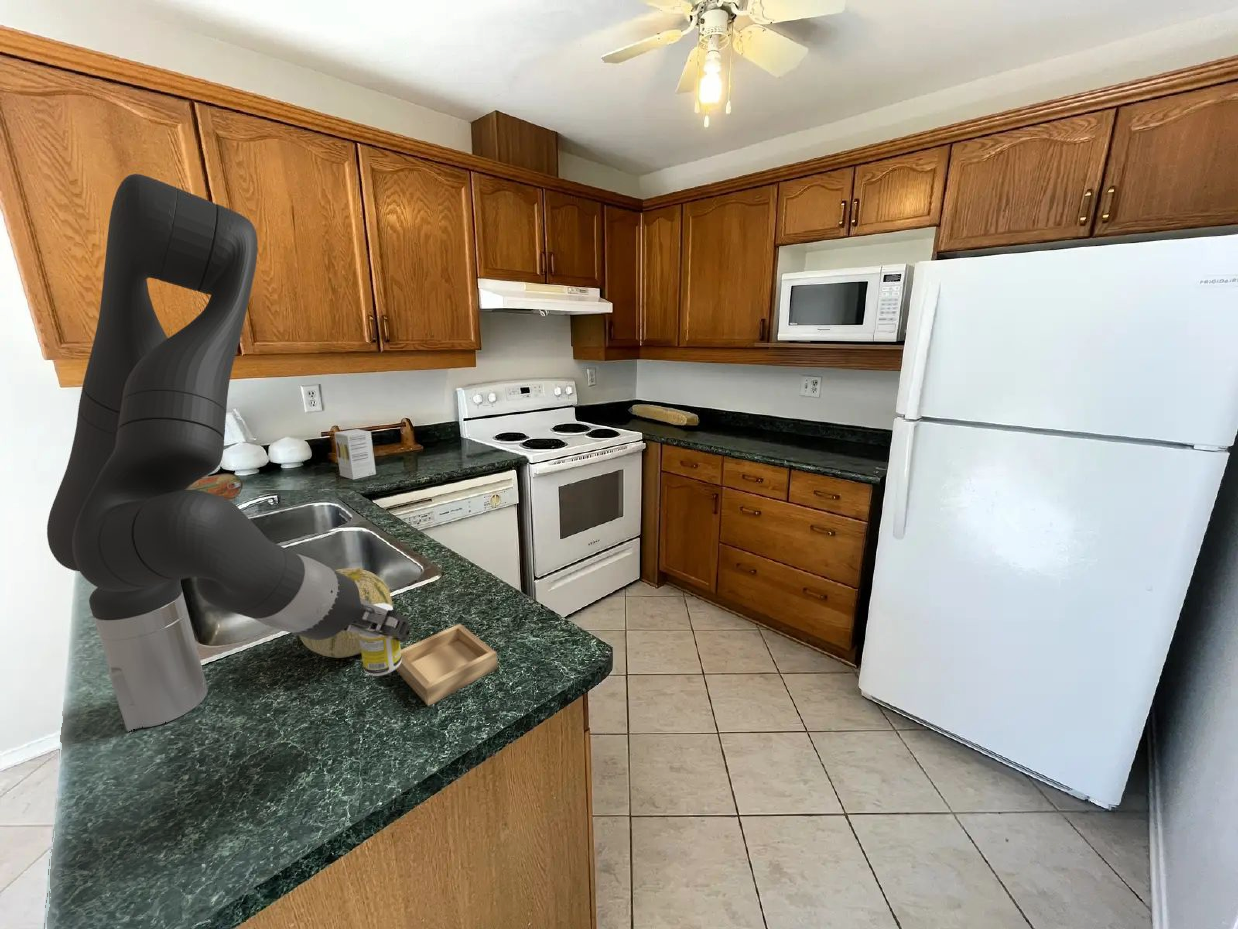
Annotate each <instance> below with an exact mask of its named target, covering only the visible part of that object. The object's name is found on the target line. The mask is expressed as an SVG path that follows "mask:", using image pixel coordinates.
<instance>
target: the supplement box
mask: <svg viewBox="0 0 1238 929" xmlns="http://www.w3.org/2000/svg"><path fill="white" fill-rule="evenodd" d="M334 442H335V445H336V446H335V448H336V456H337V461H338V462H337V463H338V467H339V468H338V469H339V475H340V476H341V477H343V478H344V477H345V478H348V479H350V480H358V479H362V478H365V477H370V476H374V475H377V472H376V462H375V455H374V448H373V439H372V431H368V430H362V429H359V428H356V429H347V430H342V431H336V432H334Z"/></svg>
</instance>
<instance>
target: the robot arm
mask: <svg viewBox="0 0 1238 929" xmlns="http://www.w3.org/2000/svg"><path fill="white" fill-rule="evenodd" d="M108 222H109V223H108V230H107V239H106V248H105V249H106V250H105V258H104V261H105V262H104V269H103V270H104V271H103V279H102V287H101V289H102V290H101V297H100V308H99V313H98V320H97V324H96V329H95V330H96V331H95V334H94V338H93V343H92V347H91V350H90V355H89V359H88V362H87V365H86V366H87V367H86V370H85V374H84V379H83V382H82V387H81V392H80V396H79V397H80V398H79V403H78V409H77V410H78V411H77V419H76V426H75V427H76V428H75V432H74V437H73V441H72V446H71V450H70V455H69V459H68V463H67V466H66V469H65V472H64V475H63V477H62V479H61V482H60V485H59V488H58V489H57V493H56V494H55V498H54V501H53V502H52V505H51V509H50V512H49V515H48V518H47V519H48V520H47V525H46V535H47V536H46V537H47V543H48V546H49V550H50V551H51V554H52V555H53V557H54V558H55V560H56V561H57V562H58V563H59V564H60V565H61V566H62V567H64V568H66V569H68V570H71V571H74V572H79V573H80V574H81V576H83V578H84V579H86V581H88V583H90V584H91V585H93V586H94V587H96V588H95V589H94V590H93V591H92V593H91V594H90V595H89V599H88V600H89V601H88V602H89V608H90V611H91V613H92V616H93V619H94V623H95V624H94V625H95V626H96V629H97V632H98V636H99V639H100V642H101V646H102V650H103V652H104V655H105V660H106V662H107V664H108V674H109V679H110V682H111V685H112V689H113V692H114V695H115V697H116V701H117V704H118V707H119V711H120V713H121V717H122V719H123V723H124V726H125V729H126V732H127V731H128V732H127V733H129V731H130V732H132V731H134V730H133V729H135V730H136V729H141V728H142V727H143V728H150V727H155V726H160V725H163V724H166V723H168V722H171V721H173V720H177V719H178V718H180V717H182V716H184V715H185V714H187V713H189V712H191V711H192V710H193V709H194V708H196V707H198V706H199V705H200V704H201V703H202V702H203V701H204V700H205V698H206V697H207V695H208V692H209V691H208V686H207V682H206V677H205V675H204V670H203V665H202V662H201V658H200V655H199V654H200V653H199V651H198V647H197V643H196V638H195V635H194V630H193V628H192V623H191V619H190V615H189V612H188V607H187V604H186V600H185V596H184V592H183V587H182V584H181V581H182V580H185V579H190V578H196V579H195V581H196V582H195V583H196V589H197V591H198V594H199V595H200V596H201V598H202V599H203V600H205V601H206V602H207V603H208V604H210V605H212V606H214V607H217V608H219V609H222V610H225V611H227V612H231V613H234V614H236V615H241V616H244V617H247V618H250V619H253V620H255V621H257V622H259V623H260V624H262V625H265V626H267V627H269V628H273V629H276V630H280V631H283V632H286V633H289V634H293V635H296V636H298V637H300V636H302V637H306V638H309V639H313V640H323V639H327V638H330V637H333V636H335V635H336V634H338V633H339V632H341V631H346V632H349V633H360V634H363V635H367V636H371V637H377V636H379V635H381V636H385V638H388V639H389V638H392V639H394V640H397V641H400V643H406V642H407V640H408V639H409V637H410V634H411V631H412V628H411V625H410V624H409V622H410V620H409V618H407V617H405V616H404V615H402V614H401V613H400V612H397V611H396V610H395V609H393V610H388V611H387V610H386V609H383V608H380V607H378V606H375V605H372V604H371V603H370V601H367V600H365V599H362V598H360V594H359V589H358V587H357V585H356V583H355V582H354V581H353V580H352V579H351V578H349V577H347V576H345V575H343V574H341V573H339V572H337V571H335V570H336V569H333V568H331V567H329V566H327V565H326V564H323V563H322V562H319V561H317V560H316V559H314V558H311V557H307V556H305V555H301V554H298V553H296V552H293V551H291V550H290V549H287V548H286V547H284V546H282V545H279V544H278V543H275V542H273V541H270V540H269V539H268V538H267V537H266V535H264V533H263V532H262V530H260V529H259V527H257V526H256V525H255V523H253V522H252V520H251V519H250V518H249V517H248V516H247V515H246V513H244V512H243V511H242V510H241V509H240V508H239V506H237V505H236V504H235V503H233V502H232V501H231V500H230V499H225V498H223V497H221V496H218V495H216V494H212V493H209V492H204V491H199V490H186V489H187V488H188V487H189V486H190V485H192V484H193V483H194V482H196V481H197V480H199V479H201V478H205V477H207V476H208V475H210V474H212V473H213V472H214V471H215V470H217V469H218V467H219V466H220V464H221V462H222V461H223V455H224V449H225V448H224V447H225V433H226V421H227V410H228V409H227V407H228V406H227V405H228V395H229V390H230V388H229V386H230V382H231V378H232V376H231V375H232V371H233V367H234V363H235V358H236V355H237V352H238V348H239V344H240V341H241V337H242V334H243V328H244V323H245V319H246V314H247V310H248V306H249V303H250V302H249V300H250V296H251V292H252V289H253V288H252V287H253V284H254V278H255V272H256V267H257V262H258V260H257V259H258V250H259V248H258V246H259V245H258V243H259V242H258V235H257V231H256V228H255V226H254V224H253V222H251V221H250V220H249V218H247V217H246V216H244V215H242V214H240V213H239V212H236V211H235V210H232V209H230V208H228V207H226V206H223V205H221V204H218V203H215V202H213V201H210V200H207V199H206V198H204V197H200V196H198V195H196V194H193V193H191V192H188V191H185V190H183V189H181V188H177V187H176V186H174V185H171V184H168V183H167V182H163V181H161V180H158V179H155V178H152V177H150V176H147V175H144V174H141V173H140V174H139V173H134V174H129V175H127V176H125V178H124V179H123V180H122V181H121V182H120V185H119V186H118V188H117V190H116V193H115V195H114V198H113V200H112V205H111V210H110V216H109V221H108ZM148 279H154V280H158V281H161V282H163V283H168V284H171V285H173V286H178V287H181V288H185V289H188V290H191V291H194V292H198V293H202V294H206V295H209V296H210V297H209V300H208V302H207V303H206V305H205V307H204V309H203V310H202V311H201V313H199V314H198V315H197V316H196V317H194V319H193V320H192V321H190V322H189V323H188V324H186V326H184V327H182V328H181V329H179V331H176V333H174V334H173V335H171V336H169V337H168V335H167V334H166V332H165V330H164V328H163V326H162V324H161V323H160V320H159V317H157V314H156V311H155V309H154V306H153V303H152V299H151V296H150V293H149V286H148V285H149V284H148V281H147V280H148ZM371 624H372V625H371ZM370 626H371V627H370ZM369 627H370V629H369V630H366V629H367V628H369ZM165 722H166V723H165ZM131 730H132V731H131Z"/></svg>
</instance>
